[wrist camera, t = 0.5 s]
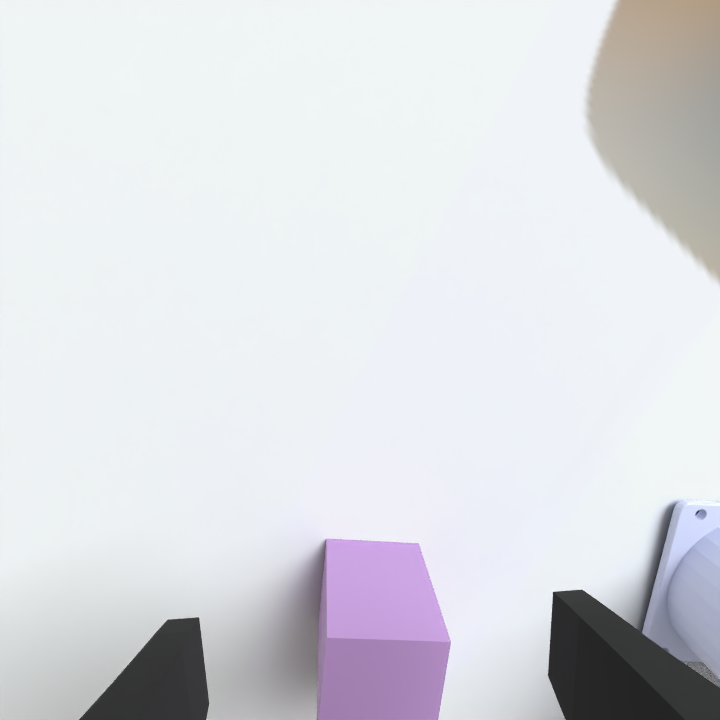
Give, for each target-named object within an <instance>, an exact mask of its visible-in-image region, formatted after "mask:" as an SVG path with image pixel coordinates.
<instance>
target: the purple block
mask: <svg viewBox="0 0 720 720" xmlns="http://www.w3.org/2000/svg"><path fill="white" fill-rule="evenodd" d="M450 644H451V641H450V638H449V635H448V632H447V629H446V626H445V623H444V620H443V617H442V614H441V610H440V607H439V604H438V601H437V598H436V595H435V592H434V589H433V586H432V583H431V580H430V577H429V574H428V571H427V568H426V565H425V562H424V559H423V556H422V552H421V549H420V546H419V544H418V543H399V542H380V541H361V540H342V539H326V549H325V559H324V569H323V579H322V589H321V600H320V610H319V620H318V679H317V720H438V717H439V711H440V705H441V698H442V692H443V686H444V680H445V674H446V668H447V662H448V656H449V650H450Z"/></svg>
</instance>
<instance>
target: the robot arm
mask: <svg viewBox="0 0 720 720" xmlns="http://www.w3.org/2000/svg"><path fill="white" fill-rule="evenodd" d="M698 510H700V511H699V513H698V514H696V512H697V511H698ZM695 514H696V515H695ZM681 661H683V662H703V663H704V664H705V665H706V666H707V667H708V668H709V669H710V670H711V671H712V672H713V673H714V674H715V676H716V677H717V678H718V679H719V680H720V502H718V501H702V500H682V501H680V502H678V503H677V504H676V505H675V508H674V510H673V514H672V518H671V522H670V526H669V529H668V533H667V537H666V541H665V545H664V549H663V553H662V557H661V561H660V564H659V568H658V572H657V576H656V580H655V584H654V588H653V592H652V595H651V599H650V603H649V607H648V611H647V615H646V619H645V623H644V627H643V630H642V633H641V632H640V631H638V630H637V629H636V628H634V627H633V626H632V625H630V624H629V623H627V622H626V621H625V620H623V619H622V618H621V617H619V616H618V615H617V614H615V613H614V612H613V611H611V610H610V609H608V608H607V607H606V606H604V605H603V604H602V603H600V602H599V601H597V600H596V599H595V598H593V597H592V596H590V595H589V594H587V593H586V592H585V591H583V590H573V591H559V592H553V604H552V621H551V637H550V654H549V670H548V676H549V679H550V682H551V684H552V687H553V689H554V692H555V694H556V697H557V700H558V702H559V705H560V707H561V710H562V712H563V714H564V717H565V719H566V720H720V688H719V687H717V686H716V685H714V684H713V683H711V682H710V681H709V680H707V679H706V678H704V677H703V676H701V675H700V674H698V673H697V672H695V671H694V670H693V669H691V668H690V667H688V666H687V665H685V664H684V663H683V662H681ZM208 706H209V699H208V690H207V682H206V673H205V665H204V656H203V648H202V639H201V630H200V622H199V618H186V619H172V620H167V621H166V622H165V623H164V624H163V625H162V627H161V628H160V629H159V630H158V631H157V632H156V633H155V634H154V636H153V637H152V638H151V639H150V640H149V641H148V643H147V644H146V645H145V646H144V647H143V648H142V650H141V651H140V652H139V653H138V654H137V655H136V657H135V658H134V659H133V660H132V661H131V662H130V663H129V665H128V666H127V667H126V668H125V669H124V670H123V672H122V673H121V674H120V675H119V676H118V677H117V678H116V680H115V681H114V682H113V683H112V684H111V685H110V686H109V687H108V688H107V690H106V691H105V692H104V693H103V694H102V695H101V696H100V697H99V698H98V700H97V701H96V702H95V703H94V704H93V705H92V706H91V707H90V708H89V710H88V711H87V712H86V713H85V714H84V715H83V716H82V717H81V718H80V719H79V720H206V717H207V712H208Z"/></svg>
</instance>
